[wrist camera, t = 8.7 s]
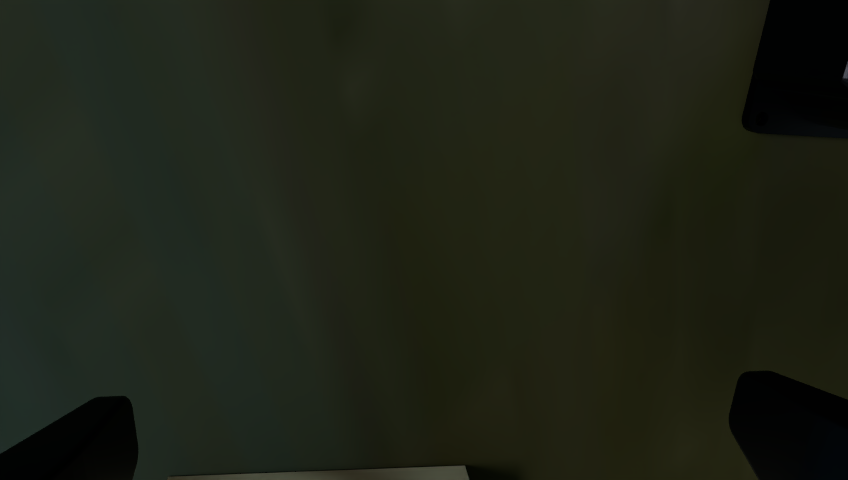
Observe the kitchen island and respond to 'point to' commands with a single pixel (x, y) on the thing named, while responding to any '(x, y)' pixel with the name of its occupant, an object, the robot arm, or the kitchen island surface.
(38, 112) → the kitchen island surface
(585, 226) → the kitchen island surface
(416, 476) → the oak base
